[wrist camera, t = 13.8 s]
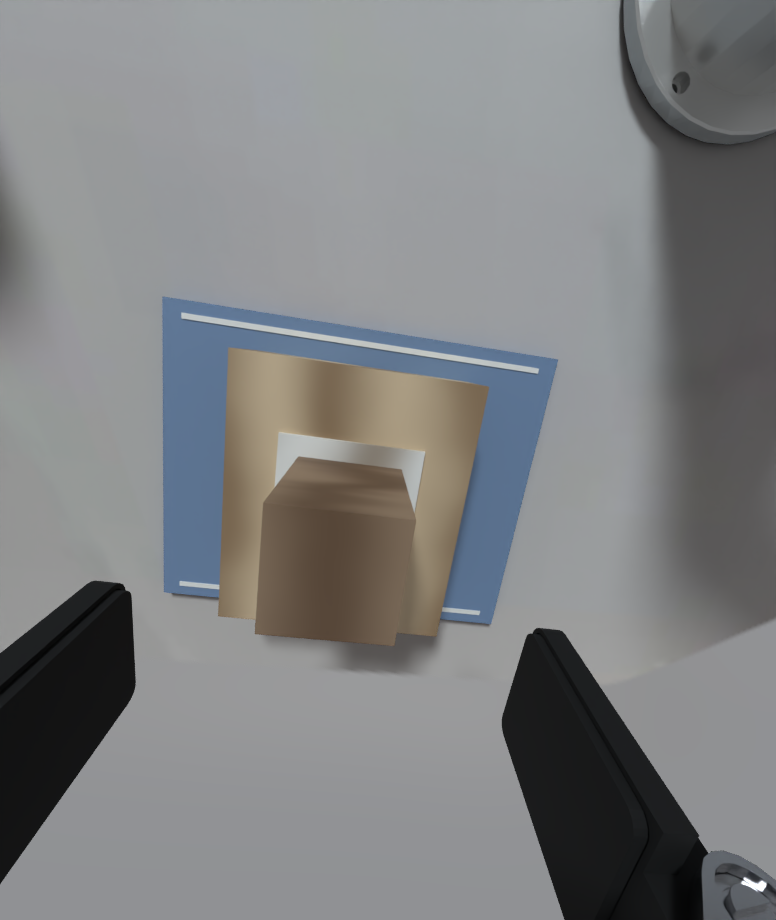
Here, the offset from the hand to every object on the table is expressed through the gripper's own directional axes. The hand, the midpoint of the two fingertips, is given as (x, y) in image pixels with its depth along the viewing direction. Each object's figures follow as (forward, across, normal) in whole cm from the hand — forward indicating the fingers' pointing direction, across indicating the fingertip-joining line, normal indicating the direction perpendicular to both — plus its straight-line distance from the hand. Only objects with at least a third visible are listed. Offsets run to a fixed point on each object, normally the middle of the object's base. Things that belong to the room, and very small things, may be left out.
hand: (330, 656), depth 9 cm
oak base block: (+15, 0, +1) cm, 15 cm away
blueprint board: (+15, 0, +1) cm, 15 cm away
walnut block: (+10, 0, +1) cm, 10 cm away
